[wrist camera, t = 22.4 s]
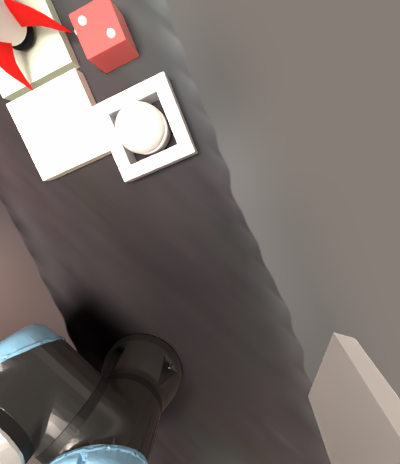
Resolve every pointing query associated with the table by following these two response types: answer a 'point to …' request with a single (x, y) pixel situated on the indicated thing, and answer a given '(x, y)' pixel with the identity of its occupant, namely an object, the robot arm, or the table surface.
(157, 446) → the table surface
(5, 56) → the rocket
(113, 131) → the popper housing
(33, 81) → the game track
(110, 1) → the red die
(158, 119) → the dome
